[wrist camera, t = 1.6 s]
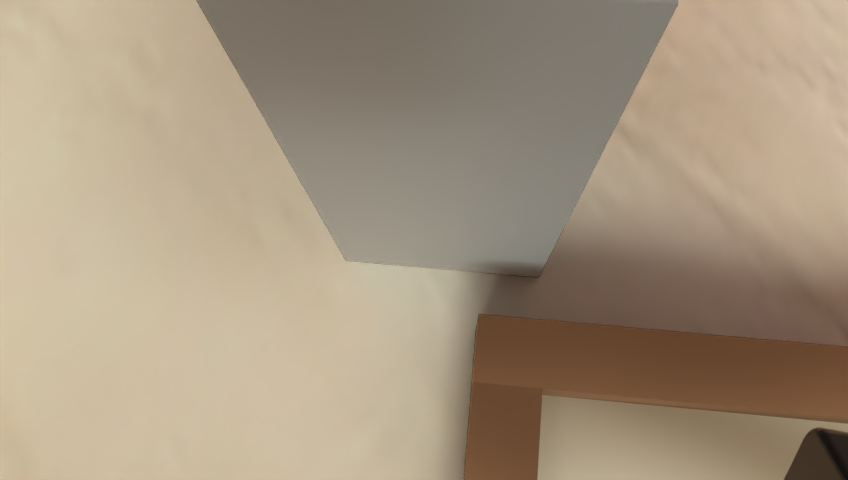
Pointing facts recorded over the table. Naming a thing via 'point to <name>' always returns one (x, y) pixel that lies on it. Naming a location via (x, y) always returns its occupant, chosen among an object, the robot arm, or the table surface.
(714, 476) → the wooden frame
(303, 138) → the tall grey pillar block
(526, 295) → the table surface
